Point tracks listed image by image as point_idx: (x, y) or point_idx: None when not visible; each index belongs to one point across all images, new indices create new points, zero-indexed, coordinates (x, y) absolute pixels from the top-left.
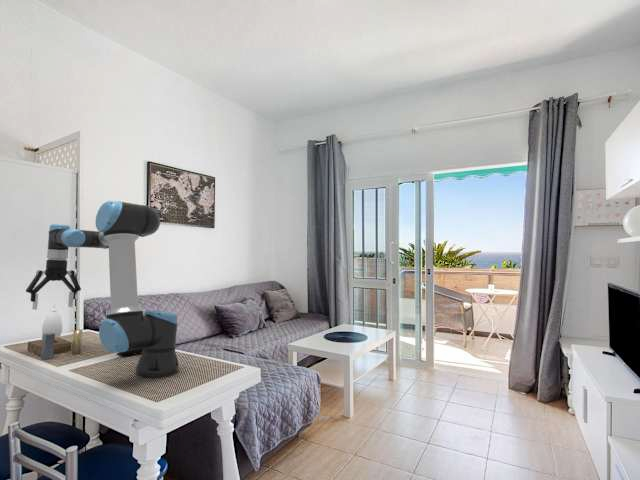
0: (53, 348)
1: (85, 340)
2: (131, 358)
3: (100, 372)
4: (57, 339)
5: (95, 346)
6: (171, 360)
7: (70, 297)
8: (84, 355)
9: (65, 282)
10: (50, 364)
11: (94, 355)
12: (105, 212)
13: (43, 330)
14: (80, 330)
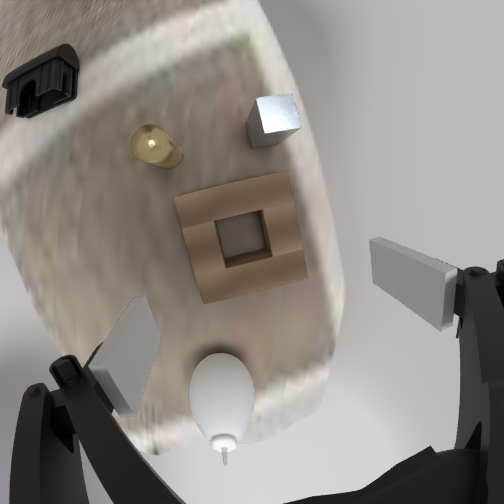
0: (249, 114)
1: None
2: None
3: None
4: (214, 274)
5: (101, 236)
6: None
7: (132, 354)
8: (152, 118)
9: (163, 483)
10: (261, 61)
11: (128, 106)
12: None
13: (251, 379)
14: (140, 134)
